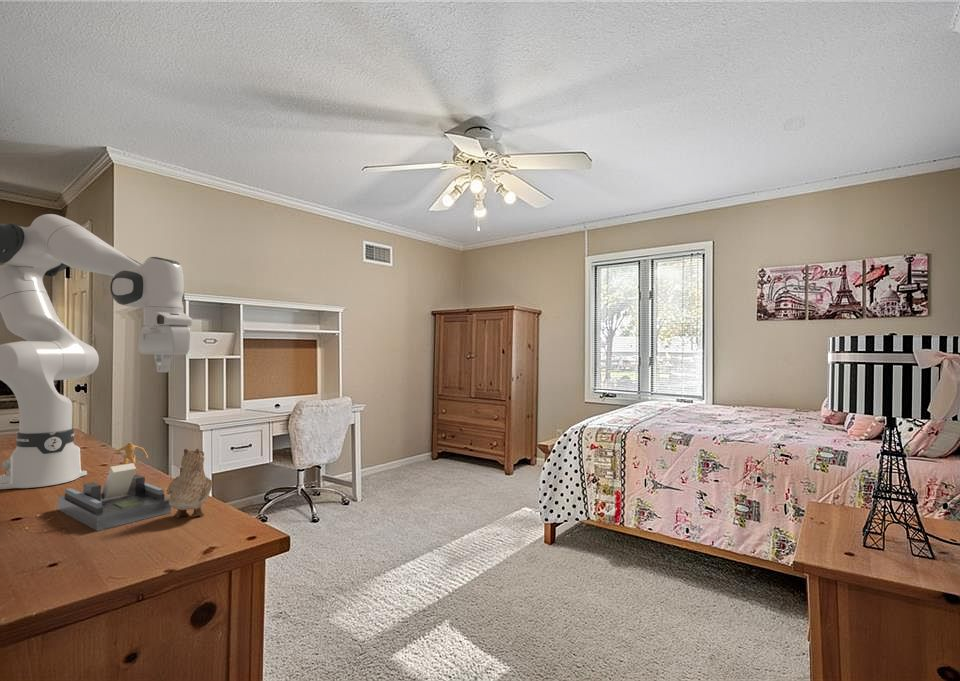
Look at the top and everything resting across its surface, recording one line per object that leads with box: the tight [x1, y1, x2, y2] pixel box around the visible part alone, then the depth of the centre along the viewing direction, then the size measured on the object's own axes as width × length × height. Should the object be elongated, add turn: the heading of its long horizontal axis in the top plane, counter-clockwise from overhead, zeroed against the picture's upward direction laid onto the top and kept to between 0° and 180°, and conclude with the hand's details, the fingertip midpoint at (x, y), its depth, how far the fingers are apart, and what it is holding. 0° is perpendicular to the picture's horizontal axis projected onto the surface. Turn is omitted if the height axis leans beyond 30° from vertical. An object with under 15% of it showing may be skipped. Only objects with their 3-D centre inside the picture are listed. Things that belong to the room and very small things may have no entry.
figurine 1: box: [110, 441, 149, 475], centre depth 131 cm, size 8×6×12 cm
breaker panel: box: [57, 473, 172, 532], centre depth 112 cm, size 23×14×7 cm, turn 56°
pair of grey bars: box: [64, 482, 165, 513], centre depth 112 cm, size 19×13×2 cm
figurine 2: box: [166, 448, 213, 519], centre depth 109 cm, size 9×10×15 cm
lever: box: [101, 462, 137, 499], centre depth 111 cm, size 2×5×9 cm
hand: (162, 372), depth 128 cm, fingers closed
